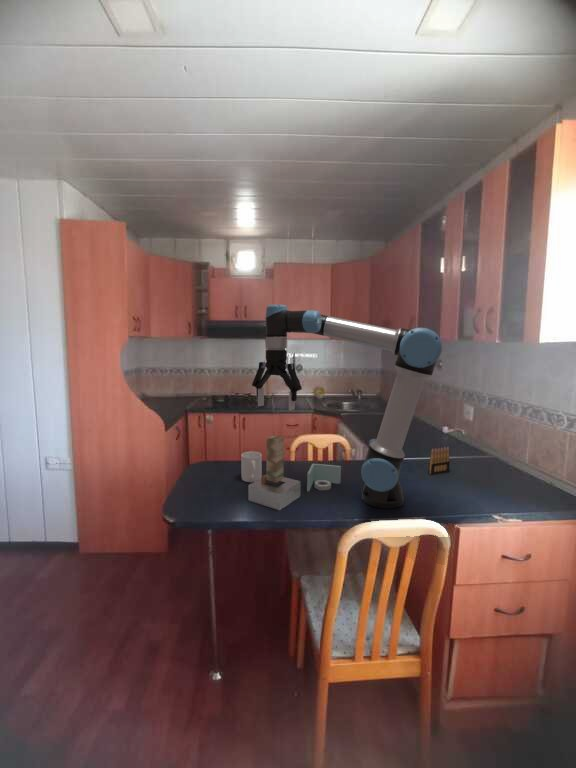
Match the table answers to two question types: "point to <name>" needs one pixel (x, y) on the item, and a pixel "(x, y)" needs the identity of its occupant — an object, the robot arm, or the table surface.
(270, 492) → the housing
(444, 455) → the ammunition clip
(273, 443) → the column
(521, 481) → the table surface
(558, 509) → the table surface
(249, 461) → the mug
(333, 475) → the right angle wall
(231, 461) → the table surface
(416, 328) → the robot arm
